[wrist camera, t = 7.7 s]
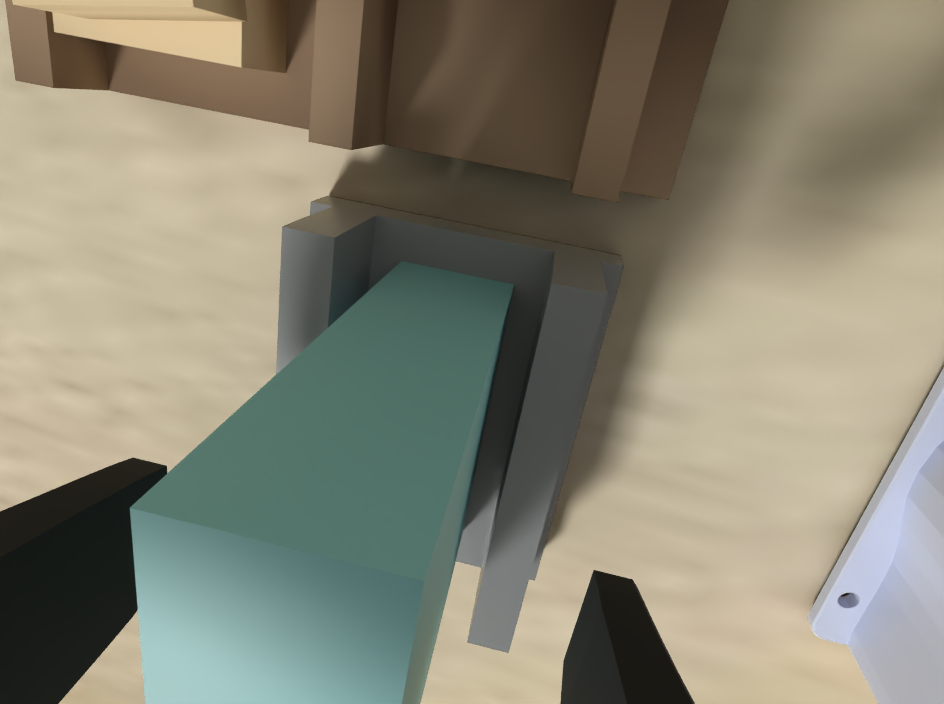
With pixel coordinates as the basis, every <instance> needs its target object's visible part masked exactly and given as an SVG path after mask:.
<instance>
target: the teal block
mask: <svg viewBox="0 0 944 704" xmlns="http://www.w3.org/2000/svg"><path fill="white" fill-rule="evenodd" d="M513 290H514V284H509V283H504V282H500V281H495V280H490V279H485V278H481V277H476V276H471V275H466V274H462V273H457V272H452V271H447V270H442V269H438V268H433V267H428V266H423V265H419V264H414V263H409V262H404V261H401V262H400V263H399V264H398V265H397V266H396V267H394V268H393V269H392V270H391V271H390V272H389V273H388V274H387V275H386V276H384V277H383V278H382V279H381V280H380V281H379V282H378V283H377V284H376V285H375V286H373V287H372V288H371V289H370V290H369V291H368V292H367V293H366V294H365V295H364V296H362V297H361V298H360V299H359V300H358V301H357V302H356V303H355V304H354V305H353V306H351V307H350V308H349V309H348V310H347V311H346V312H345V313H344V314H343V315H342V316H340V317H339V318H338V319H337V320H336V321H335V322H334V323H333V324H332V325H331V326H329V327H328V328H327V329H326V330H325V331H324V332H323V333H322V334H321V335H320V336H318V337H317V338H316V339H315V340H314V341H313V342H312V343H311V344H310V345H309V346H307V347H306V348H305V349H304V350H303V351H302V352H301V353H300V354H299V355H298V356H296V357H295V358H294V359H293V360H292V361H291V362H290V363H289V364H288V365H286V366H285V367H284V368H283V369H282V370H281V371H280V372H279V373H278V374H277V375H275V376H274V377H273V378H272V379H271V380H270V381H269V382H268V383H267V384H266V385H264V386H263V387H262V388H261V389H260V390H259V391H258V392H257V393H256V394H255V395H253V396H252V397H251V398H250V399H249V400H248V401H247V402H246V403H245V404H244V405H242V406H241V407H240V408H239V409H238V410H237V411H236V412H235V413H234V414H233V415H231V416H230V417H229V418H228V419H227V420H226V421H225V422H224V423H223V424H222V425H220V426H219V427H218V428H217V429H216V430H215V431H214V432H213V433H212V434H211V435H209V436H208V437H207V438H206V439H205V440H204V441H203V442H202V443H201V444H200V445H198V446H197V447H196V448H195V449H194V450H193V451H192V452H191V453H190V454H188V455H187V456H186V457H185V458H184V459H183V460H182V461H181V462H180V463H179V464H177V465H176V466H175V467H174V468H173V469H172V470H171V471H170V472H169V473H168V474H166V475H165V476H164V477H163V478H162V479H161V480H160V481H159V482H158V483H157V484H155V485H154V486H153V487H152V488H151V489H150V490H149V491H148V492H147V493H146V494H144V495H143V496H142V497H141V498H140V499H139V500H138V501H137V502H136V503H135V504H133V505H132V506H131V507H130V517H131V529H132V542H133V555H134V567H135V580H136V593H137V605H138V618H139V631H140V644H141V656H142V669H143V682H144V694H145V704H420V702H421V698H422V694H423V690H424V686H425V682H426V678H427V674H428V670H429V666H430V662H431V658H432V654H433V650H434V646H435V642H436V638H437V634H438V630H439V626H440V622H441V618H442V614H443V610H444V606H445V602H446V598H447V594H448V590H449V586H450V582H451V578H452V574H453V570H454V566H455V562H456V558H457V554H458V550H459V546H460V542H461V538H462V533H463V529H464V524H465V520H466V515H467V510H468V505H469V501H470V496H471V491H472V486H473V481H474V477H475V472H476V467H477V462H478V457H479V453H480V448H481V443H482V438H483V434H484V429H485V424H486V419H487V414H488V410H489V405H490V400H491V395H492V390H493V386H494V381H495V376H496V371H497V367H498V362H499V357H500V352H501V347H502V343H503V338H504V333H505V328H506V323H507V319H508V314H509V309H510V304H511V300H512V295H513Z"/></svg>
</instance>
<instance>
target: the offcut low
mask: <svg viewBox="0 0 944 704" xmlns="http://www.w3.org/2000/svg"><path fill="white" fill-rule="evenodd" d="M288 1H289V0H245V2H246V12H247V22H227V21H168V20H109V19H87V18H81V17H76V16H71V15H65V14H60V13H55V12H52V14H53V24H54V32H57V33H62V34H67V35H73V36H78V37H83V38H89V39H94V40H99V41H104V42H110V43H115V44H120V45H125V46H131V47H136V48H141V49H146V50H152V51H157V52H162V53H168V54H173V55H178V56H183V57H189V58H194V59H199V60H204V61H210V62H215V63H220V64H225V65H231V66H236V67H241V68H249V69H257V70H264V71H272V72H280V73H286V52H287V27H288Z"/></svg>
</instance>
